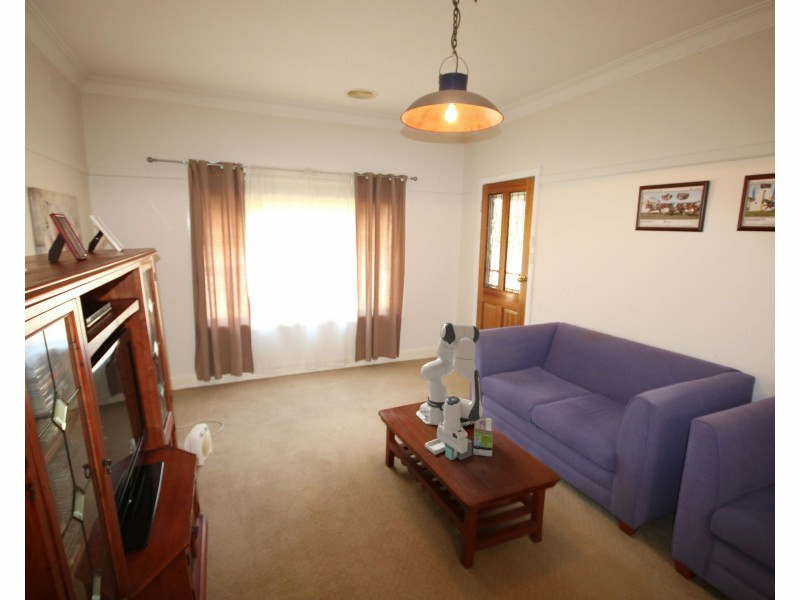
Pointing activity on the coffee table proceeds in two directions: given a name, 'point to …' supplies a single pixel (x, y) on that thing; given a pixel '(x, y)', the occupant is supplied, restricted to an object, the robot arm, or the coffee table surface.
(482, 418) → the tea box
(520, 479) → the coffee table surface
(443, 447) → the tray
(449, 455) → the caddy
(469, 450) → the block
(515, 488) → the coffee table surface
